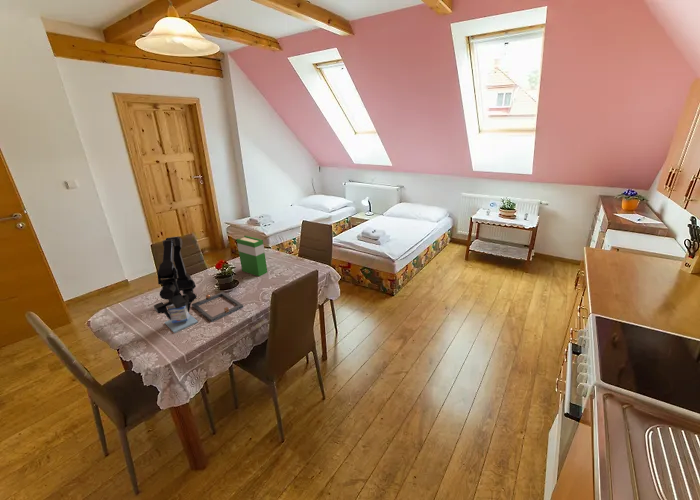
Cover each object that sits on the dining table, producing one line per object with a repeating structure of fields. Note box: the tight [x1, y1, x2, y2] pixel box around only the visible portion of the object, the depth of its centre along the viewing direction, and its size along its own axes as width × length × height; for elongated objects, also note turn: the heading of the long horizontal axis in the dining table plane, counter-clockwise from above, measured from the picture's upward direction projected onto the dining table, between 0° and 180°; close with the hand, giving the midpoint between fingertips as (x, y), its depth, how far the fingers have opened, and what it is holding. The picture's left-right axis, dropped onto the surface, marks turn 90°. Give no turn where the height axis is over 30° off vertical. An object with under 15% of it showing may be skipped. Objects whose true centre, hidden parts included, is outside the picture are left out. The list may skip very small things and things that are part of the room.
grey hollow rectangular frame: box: [191, 291, 244, 323], centre depth 180 cm, size 24×19×4 cm
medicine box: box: [167, 305, 190, 323], centre depth 165 cm, size 8×4×9 cm, turn 105°
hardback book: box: [236, 235, 268, 277], centre depth 218 cm, size 18×7×24 cm, turn 57°
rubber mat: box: [164, 313, 199, 334], centre depth 167 cm, size 13×12×1 cm
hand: (179, 315), depth 165 cm, fingers closed on medicine box, 9 cm apart
